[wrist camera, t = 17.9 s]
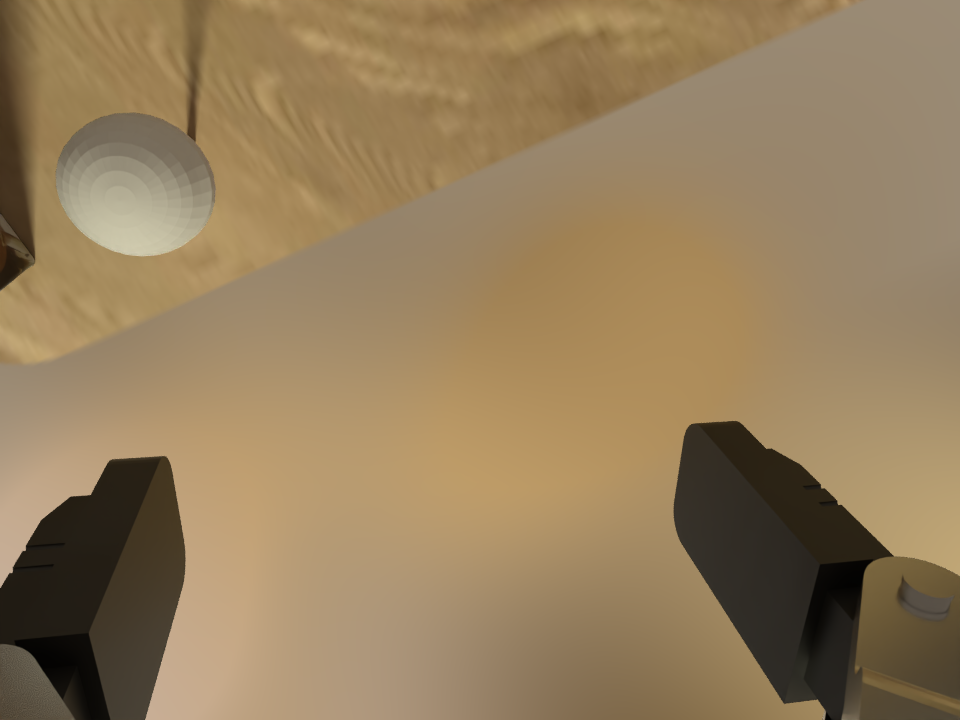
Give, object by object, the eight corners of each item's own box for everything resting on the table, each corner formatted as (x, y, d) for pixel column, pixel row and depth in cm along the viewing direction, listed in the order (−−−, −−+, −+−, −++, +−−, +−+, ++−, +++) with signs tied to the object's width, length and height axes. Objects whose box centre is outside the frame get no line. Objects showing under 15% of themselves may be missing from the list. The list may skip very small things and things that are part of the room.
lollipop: (232, 79, 42) (179, 110, 28) (259, 186, 44) (222, 260, 31) (117, 96, 41) (6, 135, 28) (151, 202, 44) (64, 286, 30)
